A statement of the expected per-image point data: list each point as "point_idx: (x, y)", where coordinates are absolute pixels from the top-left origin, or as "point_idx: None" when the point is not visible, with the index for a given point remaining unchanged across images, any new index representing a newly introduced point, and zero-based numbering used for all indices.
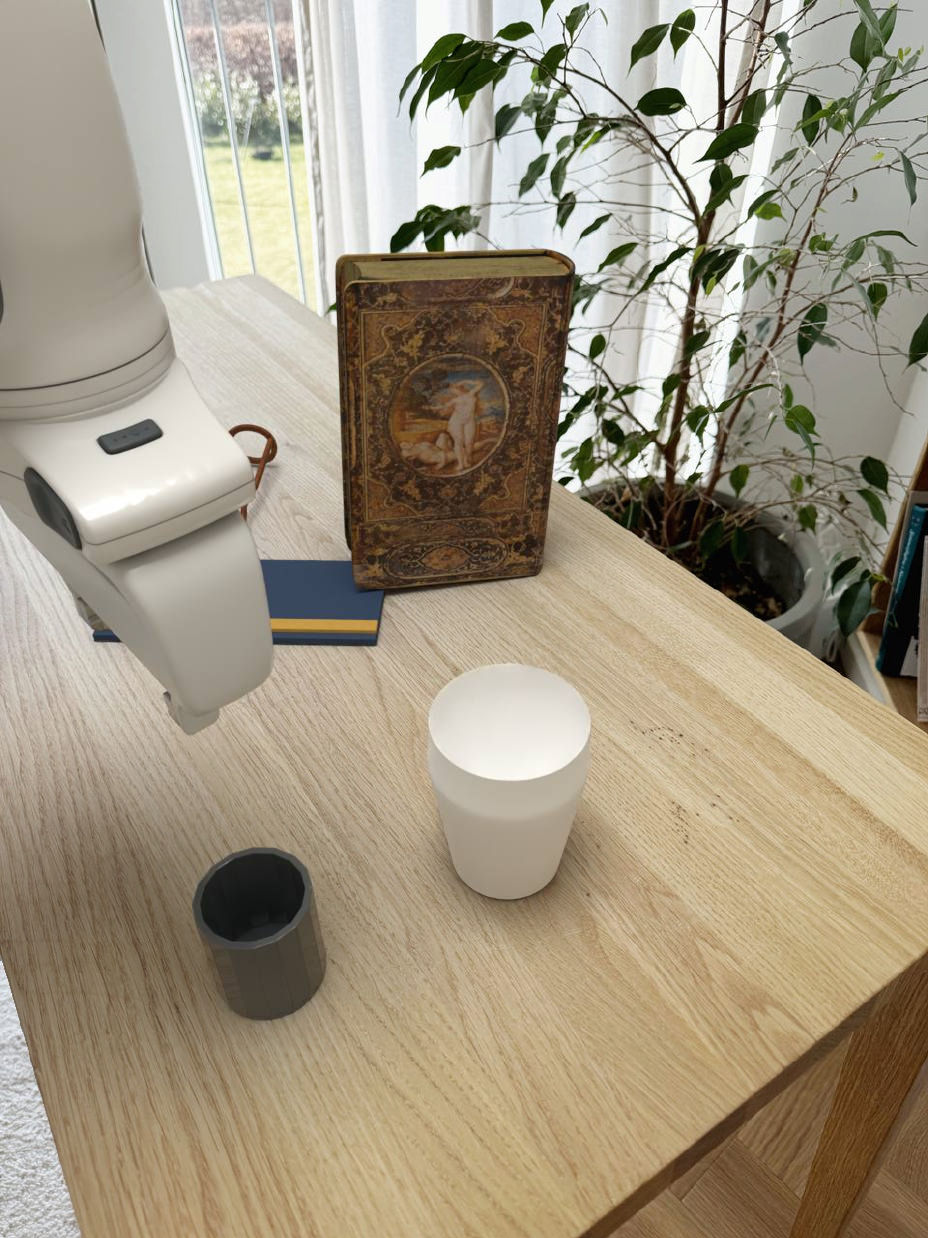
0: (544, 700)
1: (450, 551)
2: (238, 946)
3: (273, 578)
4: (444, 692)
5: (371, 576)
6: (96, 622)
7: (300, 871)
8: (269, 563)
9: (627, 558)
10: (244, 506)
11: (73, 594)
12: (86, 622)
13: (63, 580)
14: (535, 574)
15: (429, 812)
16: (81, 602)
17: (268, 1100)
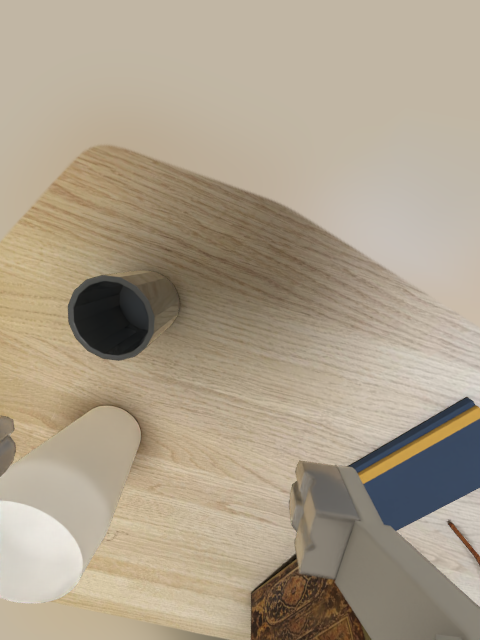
0: (65, 561)
1: (292, 598)
2: (81, 285)
3: (396, 510)
4: (86, 544)
5: None
6: (302, 479)
7: (104, 354)
8: (411, 518)
9: (217, 627)
10: (474, 555)
11: (371, 527)
12: (325, 467)
13: (422, 557)
14: (251, 593)
15: (164, 428)
16: (337, 518)
17: (86, 249)
